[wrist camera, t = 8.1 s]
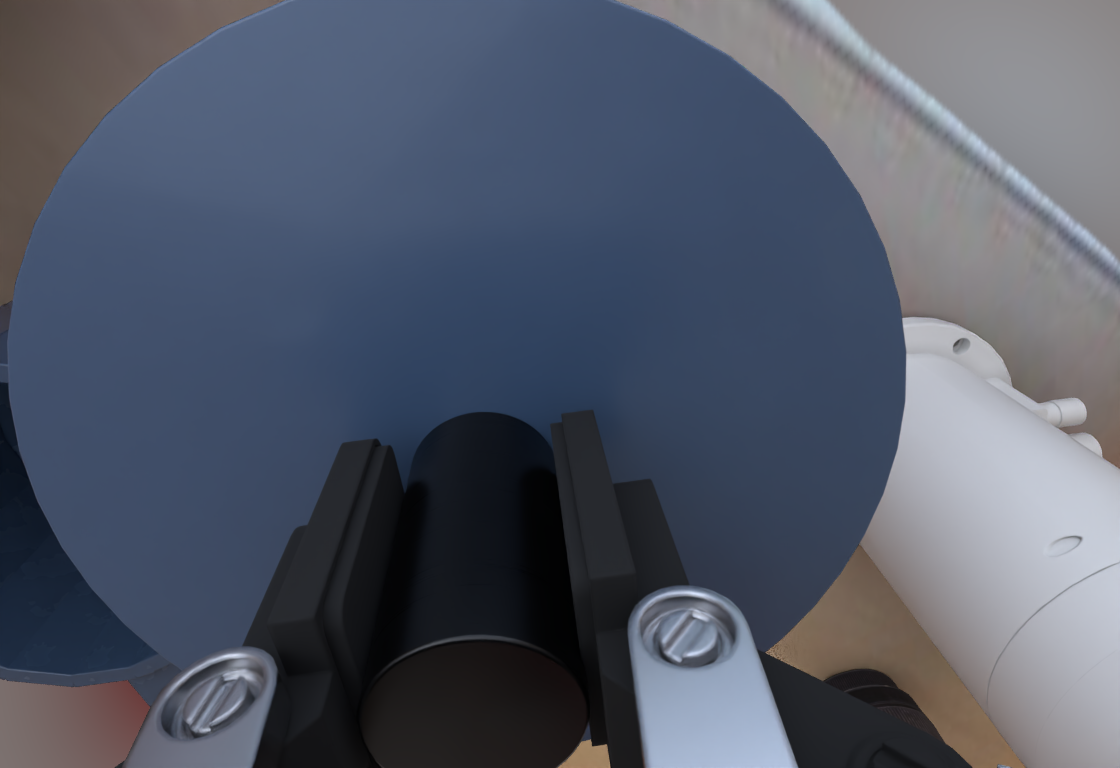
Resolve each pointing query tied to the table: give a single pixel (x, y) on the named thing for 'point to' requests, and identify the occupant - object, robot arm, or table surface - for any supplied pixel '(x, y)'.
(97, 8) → the table surface
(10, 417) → the pot
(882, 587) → the table surface
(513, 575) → the lid
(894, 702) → the camera lens
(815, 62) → the table surface
